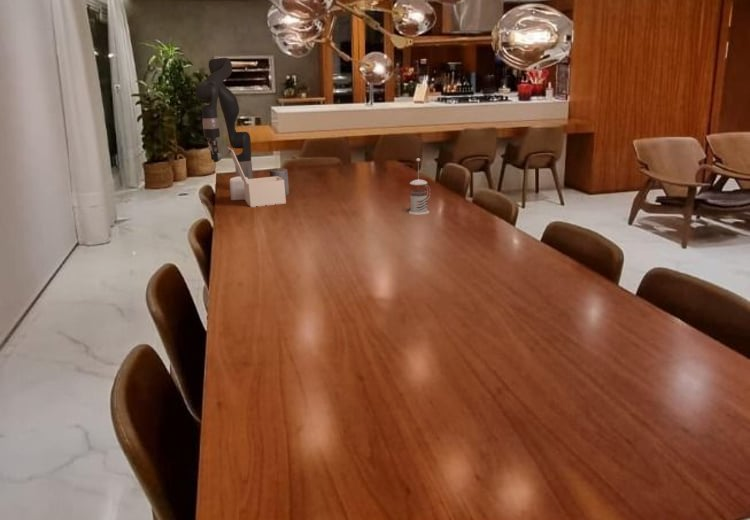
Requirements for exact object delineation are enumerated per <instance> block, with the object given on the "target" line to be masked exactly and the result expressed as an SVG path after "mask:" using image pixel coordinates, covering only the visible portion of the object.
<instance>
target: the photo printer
mask: <svg viewBox="0 0 750 520" xmlns="http://www.w3.org/2000/svg"><path fill="white" fill-rule="evenodd" d="M245 178H246V179H248V178H247V177H245ZM229 193H230V200H231V201H243V200H245V201H246V198H245V188H244V181H243V180H242V179H241V176H239V177H236V176H234V177H231V178H230V179H229Z"/></svg>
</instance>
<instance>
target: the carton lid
mask: <svg viewBox="0 0 750 520" xmlns="http://www.w3.org/2000/svg"><path fill="white" fill-rule="evenodd" d="M228 154H230V156H231V158H232V160H233V164H234V166H235V165H236V167H237V170H238V172H239V174H240V176H241V179H242V180H243V181H244V182H245V183H246V184H248V182H247V180H246V178H245V175H244V173H243V171H242V169H241V166H240V164H239V162H238V160H237V158H236V155H237V154H235V151H234V150H233V149H232V147H231V148H230V146H229V147H227V151H224V152H222V153H221V152H218V162H219V161H221V160H222V157H223V156H225V155H228Z"/></svg>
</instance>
